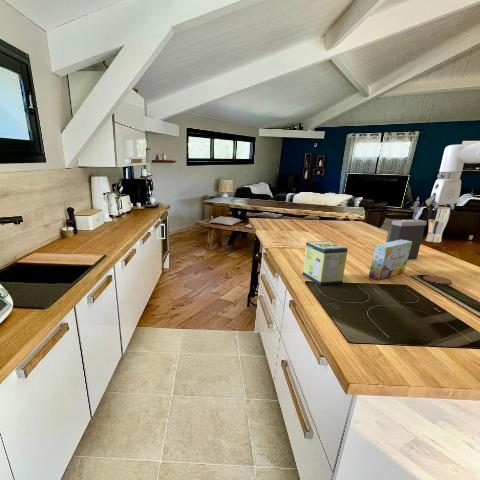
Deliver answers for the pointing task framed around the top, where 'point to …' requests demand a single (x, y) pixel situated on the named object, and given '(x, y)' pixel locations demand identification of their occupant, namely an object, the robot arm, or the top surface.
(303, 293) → the top surface
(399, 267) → the snack box
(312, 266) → the protein box
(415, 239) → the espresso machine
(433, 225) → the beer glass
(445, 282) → the coaster
